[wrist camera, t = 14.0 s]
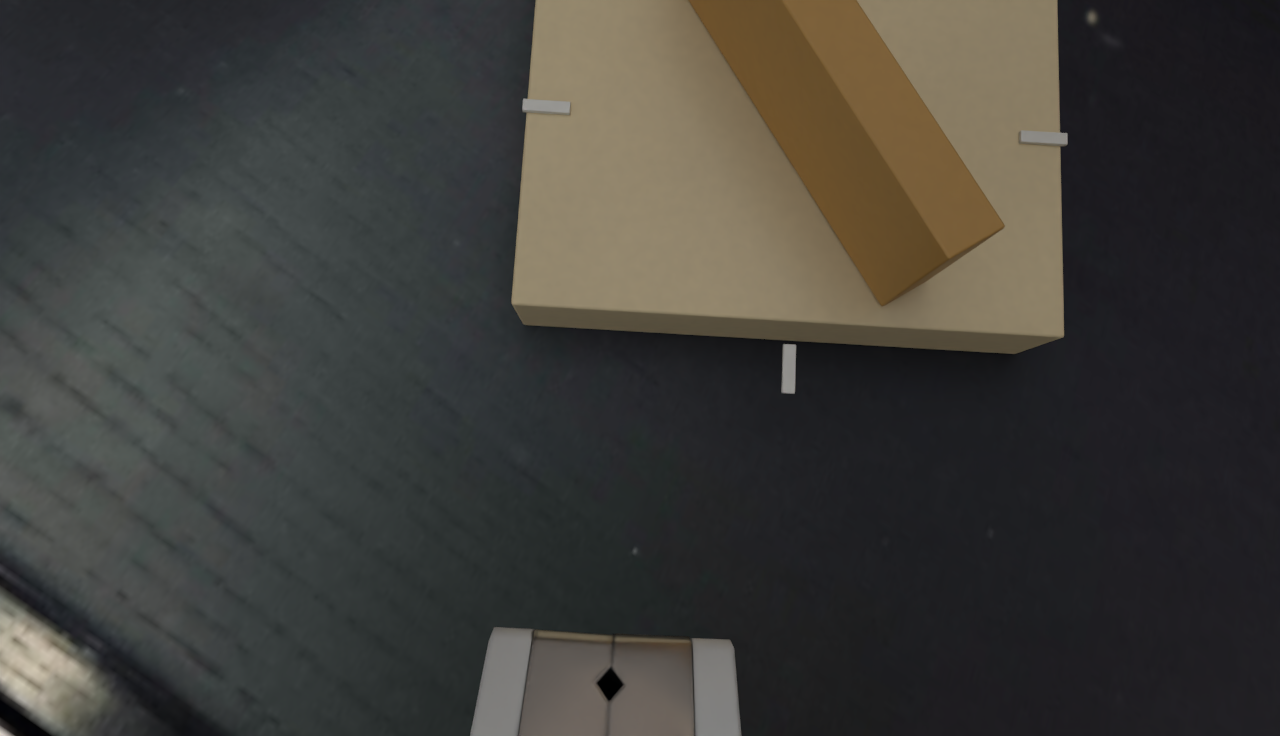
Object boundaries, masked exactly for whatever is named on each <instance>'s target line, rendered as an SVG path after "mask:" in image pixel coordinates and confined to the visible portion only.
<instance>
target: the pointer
mask: <svg viewBox="0 0 1280 736" xmlns="http://www.w3.org/2000/svg"><path fill="white" fill-rule="evenodd" d="M689 2H690V3H691V5H692V6H693V8H694V10H695V11H696V13H697V14H698V16H699V18H700V19H701V21H702V22H703V24H704V25H705V27H706V29H707V30H708V32H709V33H710V35H711V37H712V38H713V40H714V41H715V43H716V45H717V46H718V48H719V49H720V51H721V52H722V54H723V56H724V57H725V59H726V60H727V62H728V64H729V65H730V67H731V68H732V70H733V71H734V73H735V75H736V76H737V78H738V79H739V81H740V83H741V84H742V86H743V87H744V89H745V91H746V92H747V94H748V95H749V97H750V98H751V100H752V102H753V103H754V105H755V106H756V108H757V110H758V111H759V113H760V114H761V116H762V118H763V119H764V121H765V122H766V124H767V125H768V127H769V129H770V130H771V132H772V133H773V135H774V137H775V138H776V140H777V141H778V143H779V145H780V146H781V148H782V149H783V151H784V152H785V154H786V156H787V157H788V159H789V160H790V162H791V164H792V165H793V167H794V168H795V170H796V171H797V173H798V175H799V176H800V178H801V179H802V181H803V183H804V184H805V186H806V187H807V189H808V191H809V192H810V194H811V195H812V197H813V198H814V200H815V202H816V203H817V205H818V206H819V208H820V210H821V211H822V213H823V214H824V216H825V218H826V219H827V221H828V222H829V224H830V225H831V227H832V229H833V230H834V232H835V233H836V235H837V237H838V238H839V240H840V241H841V243H842V245H843V246H844V248H845V249H846V251H847V252H848V254H849V256H850V257H851V259H852V260H853V262H854V264H855V265H856V267H857V268H858V270H859V271H860V273H861V275H862V276H863V278H864V279H865V281H866V283H867V284H868V286H869V287H870V289H871V291H872V292H873V294H874V295H875V297H876V298H877V300H878V302H879V303H880V305H881V306H885V305H887V304H888V303H890V302H892V301H893V300H895V299H897V298H899V297H900V296H902V295H904V294H906V293H907V292H909V291H911V290H912V289H914V288H916V287H918V286H919V285H921V284H923V283H924V282H926V281H928V280H929V279H931V278H932V277H934V276H935V275H936V274H938V273H939V272H941V271H942V270H944V269H945V268H947V267H948V266H950V265H951V264H953V263H954V262H955V261H957V260H958V259H960V258H961V257H963V256H964V255H966V254H967V253H969V252H970V251H971V250H973V249H974V248H976V247H977V246H979V245H980V244H982V243H983V242H985V241H986V240H988V239H989V238H990V237H992V236H993V235H995V234H996V233H998V232H999V231H1001V230H1002V229H1003V228H1004V227H1005V225H1004V223H1003V222H1002V220H1001V219H1000V217H999V216H998V214H997V212H996V211H995V209H994V208H993V206H992V205H991V203H990V202H989V200H988V199H987V197H986V196H985V194H984V193H983V191H982V190H981V188H980V187H979V185H978V184H977V182H976V181H975V179H974V178H973V176H972V175H971V173H970V172H969V170H968V168H967V167H966V165H965V164H964V162H963V161H962V159H961V158H960V156H959V155H958V153H957V152H956V150H955V149H954V147H953V146H952V144H951V143H950V141H949V140H948V138H947V137H946V135H945V134H944V132H943V131H942V129H941V128H940V126H939V124H938V123H937V121H936V120H935V118H934V117H933V115H932V114H931V112H930V111H929V109H928V108H927V106H926V105H925V103H924V102H923V100H922V99H921V97H920V96H919V94H918V93H917V91H916V90H915V88H914V87H913V85H912V84H911V82H910V80H909V79H908V77H907V76H906V74H905V73H904V71H903V70H902V68H901V67H900V65H899V64H898V62H897V61H896V59H895V58H894V56H893V55H892V53H891V52H890V50H889V49H888V47H887V46H886V44H885V43H884V41H883V40H882V38H881V36H880V35H879V33H878V32H877V30H876V29H875V27H874V26H873V24H872V23H871V21H870V20H869V18H868V17H867V15H866V14H865V12H864V11H863V9H862V8H861V6H860V5H859V3H858V2H857V0H689Z"/></svg>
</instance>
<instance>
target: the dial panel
mask: <svg viewBox="0 0 1280 736" xmlns="http://www.w3.org/2000/svg"><path fill="white" fill-rule="evenodd" d="M857 2H858V3H859V5H860V6H861V8H862V9H863V11H864V12H865V14H866V15H867V17H868V18H869V20H870V21H871V23H872V24H873V26H874V27H875V29H876V30H877V32H878V33H879V35H880V36H881V38H882V40H883V41H884V43H885V44H886V46H887V47H888V49H889V50H890V52H891V53H892V55H893V56H894V58H895V59H896V61H897V62H898V64H899V65H900V67H901V68H902V70H903V71H904V73H905V74H906V76H907V77H908V79H909V80H910V82H911V84H912V85H913V87H914V88H915V90H916V91H917V93H918V94H919V96H920V97H921V99H922V100H923V102H924V103H925V105H926V106H927V108H928V109H929V111H930V112H931V114H932V115H933V117H934V118H935V120H936V121H937V123H938V124H939V126H940V128H941V129H942V131H943V132H944V134H945V135H946V137H947V138H948V140H949V141H950V143H951V144H952V146H953V147H954V149H955V150H956V152H957V153H958V155H959V156H960V158H961V159H962V161H963V162H964V164H965V165H966V167H967V168H968V170H969V172H970V173H971V175H972V176H973V178H974V179H975V181H976V182H977V184H978V185H979V187H980V188H981V190H982V191H983V193H984V194H985V196H986V197H987V199H988V200H989V202H990V203H991V205H992V206H993V208H994V209H995V211H996V212H997V214H998V216H999V217H1000V219H1001V220H1002V222H1003V223H1004V225H1005V227H1004V228H1003V229H1002V230H1001V231H999V232H998V233H996V234H995V235H993V236H992V237H990V238H989V239H988V240H986V241H985V242H983V243H982V244H980V245H979V246H977V247H976V248H974V249H973V250H971V251H970V252H969V253H967V254H966V255H964V256H963V257H961V258H960V259H958V260H957V261H955V262H954V263H953V264H951V265H950V266H948V267H947V268H945V269H944V270H942V271H941V272H939V273H938V274H936V275H935V276H934V277H932V278H931V279H929V280H928V281H926V282H924V283H923V284H921V285H919V286H918V287H916V288H914V289H912V290H911V291H909V292H907V293H906V294H904V295H902V296H900V297H899V298H897V299H895V300H893V301H892V302H890V303H888V304H887V305H885V306H881V305H880V303H879V302H878V300H877V298H876V297H875V295H874V294H873V292H872V291H871V289H870V287H869V286H868V284H867V283H866V281H865V279H864V278H863V276H862V275H861V273H860V271H859V270H858V268H857V267H856V265H855V264H854V262H853V260H852V259H851V257H850V256H849V254H848V252H847V251H846V249H845V248H844V246H843V245H842V243H841V241H840V240H839V238H838V237H837V235H836V233H835V232H834V230H833V229H832V227H831V225H830V224H829V222H828V221H827V219H826V218H825V216H824V214H823V213H822V211H821V210H820V208H819V206H818V205H817V203H816V202H815V200H814V198H813V197H812V195H811V194H810V192H809V191H808V189H807V187H806V186H805V184H804V183H803V181H802V179H801V178H800V176H799V175H798V173H797V171H796V170H795V168H794V167H793V165H792V164H791V162H790V160H789V159H788V157H787V156H786V154H785V152H784V151H783V149H782V148H781V146H780V145H779V143H778V141H777V140H776V138H775V137H774V135H773V133H772V132H771V130H770V129H769V127H768V125H767V124H766V122H765V121H764V119H763V118H762V116H761V114H760V113H759V111H758V110H757V108H756V106H755V105H754V103H753V102H752V100H751V98H750V97H749V95H748V94H747V92H746V91H745V89H744V87H743V86H742V84H741V83H740V81H739V79H738V78H737V76H736V75H735V73H734V71H733V70H732V68H731V67H730V65H729V64H728V62H727V60H726V59H725V57H724V56H723V54H722V52H721V51H720V49H719V48H718V46H717V45H716V43H715V41H714V40H713V38H712V37H711V35H710V33H709V32H708V30H707V29H706V27H705V25H704V24H703V22H702V21H701V19H700V18H699V16H698V14H697V13H696V11H695V10H694V8H693V6H692V5H691V3H690V2H689V0H536V2H535V14H534V27H533V39H532V52H531V64H530V77H529V89H528V99H523V107H522V110H523V112H527V114H526V126H525V139H524V151H523V164H522V176H521V188H520V201H519V213H518V226H517V238H516V251H515V263H514V275H513V288H512V300H511V303H512V305H513V307H514V309H515V310H516V312H517V314H518V316H519V317H520V319H521V321H522V322H523V324H524V325H534V326H551V327H568V328H585V329H602V330H619V331H635V332H652V333H669V334H686V335H703V336H720V337H737V338H754V339H771V340H787V341H804V342H821V343H838V344H855V345H872V346H889V347H906V348H923V349H940V350H956V351H973V352H990V353H1007V354H1016V353H1019V352H1022V351H1025V350H1028V349H1031V348H1034V347H1036V346H1039V345H1042V344H1045V343H1048V342H1051V341H1054V340H1057V339H1060V338H1062V337H1064V302H1063V254H1062V206H1061V158H1060V146H1066V145H1067V133H1060V110H1059V62H1058V14H1057V0H857ZM795 370H796V345H793V344H783V354H782V386H781V393H784V394H794V393H795Z"/></svg>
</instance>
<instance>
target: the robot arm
mask: <svg viewBox="0 0 1280 736" xmlns="http://www.w3.org/2000/svg"><path fill="white" fill-rule="evenodd" d="M470 736H741V725H740V713H739V700H738V688H737V676H736V664H735V652H734V647H733V645H732V643H731V641H730V639H703V638H691V639H690V637H687V636H661V635H634V634H613V635H608V634H593V633H578V632H563V631H548V630H535V629H523V628H504V627H494V629H493V631H492V634H491V636H490V639H489V642H488V647H487V652H486V658H485V663H484V668H483V673H482V678H481V683H480V688H479V693H478V698H477V703H476V708H475V713H474V718H473V723H472V728H471V733H470Z"/></svg>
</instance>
